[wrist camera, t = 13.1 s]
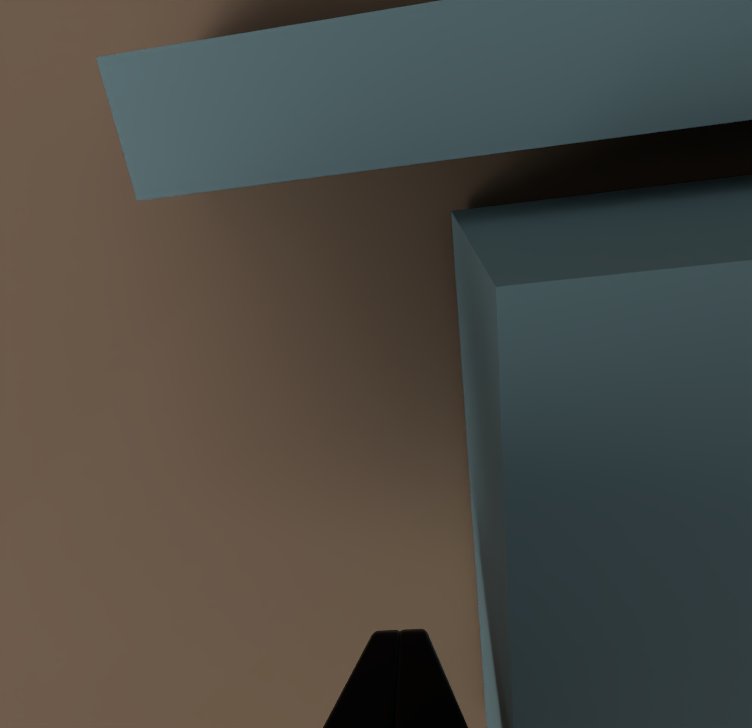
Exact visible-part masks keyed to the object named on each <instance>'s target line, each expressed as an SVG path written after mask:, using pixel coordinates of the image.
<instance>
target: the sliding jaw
mask: <svg viewBox="0 0 752 728" xmlns="http://www.w3.org/2000/svg"><path fill="white" fill-rule="evenodd" d="M451 218H452V233H453V247H454V262H455V276H456V290H457V305H458V319H459V334H460V348H461V363H462V377H463V392H464V406H465V421H466V435H467V450H468V464H469V479H470V493H471V508H472V522H473V537H474V551H475V565H476V580H477V594H478V609H479V623H480V638H481V652H482V667H483V681H484V696H485V710H486V723H487V728H752V175H744V176H735V177H727V178H719V179H711V180H702V181H694V182H686V183H678V184H670V185H661V186H653V187H645V188H637V189H628V190H620V191H612V192H604V193H595V194H587V195H579V196H571V197H563V198H554V199H546V200H538V201H530V202H521V203H513V204H505V205H497V206H488V207H480V208H472V209H464V210H456V211H451Z"/></svg>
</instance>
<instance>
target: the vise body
mask: <svg viewBox="0 0 752 728" xmlns="http://www.w3.org/2000/svg"><path fill="white" fill-rule="evenodd" d="M96 59H97V62H98V66H99V69H100V73H101V76H102V80H103V83H104V87H105V90H106V94H107V97H108V101H109V104H110V108H111V111H112V115H113V118H114V122H115V125H116V129H117V132H118V136H119V139H120V143H121V146H122V150H123V153H124V157H125V160H126V164H127V167H128V171H129V174H130V178H131V181H132V185H133V188H134V192H135V195H136V199H137V201H140V200H148V199H155V198H163V197H170V196H178V195H185V194H193V193H201V192H208V191H216V190H223V189H231V188H238V187H246V186H254V185H261V184H269V183H276V182H284V181H291V180H299V179H307V178H314V177H322V176H329V175H337V174H344V173H352V172H359V171H367V170H375V169H382V168H390V167H397V166H405V165H412V164H420V163H428V162H435V161H443V160H450V159H458V158H465V157H473V156H481V155H488V154H496V153H503V152H511V151H518V150H526V149H534V148H541V147H549V146H556V145H564V144H571V143H579V142H586V141H594V140H602V139H609V138H617V137H624V136H632V135H639V134H647V133H655V132H662V131H670V130H677V129H685V128H692V127H700V126H708V125H715V124H723V123H730V122H738V121H745V120H752V0H440V1H434V2H428V3H422V4H416V5H410V6H404V7H397V8H391V9H385V10H379V11H373V12H367V13H361V14H355V15H349V16H343V17H337V18H331V19H325V20H319V21H313V22H307V23H301V24H295V25H289V26H283V27H277V28H271V29H264V30H258V31H252V32H246V33H240V34H234V35H228V36H222V37H216V38H210V39H204V40H198V41H192V42H186V43H180V44H174V45H168V46H162V47H156V48H150V49H144V50H138V51H131V52H125V53H119V54H113V55H107V56H101V57H96Z"/></svg>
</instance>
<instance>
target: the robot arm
mask: <svg viewBox="0 0 752 728" xmlns="http://www.w3.org/2000/svg"><path fill="white" fill-rule="evenodd" d="M323 728H468V727H467V724H466V722H465V720H464V717H463V715H462V713H461V710H460V708H459V705H458V703H457V701H456V698H455V696H454V694H453V691H452V689H451V687H450V684H449V682H448V680H447V677H446V675H445V673H444V670H443V668H442V666H441V663H440V661H439V659H438V656H437V654H436V652H435V649H434V647H433V645H432V642H431V640H430V638H429V635H428V633H427V632H426V631H425V630H424V629H408V630H402V631H398V630H385V631H376V632H375V633H373V635H372V636H371V638H370V640H369V641H368V643H367V645H366V647H365V649H364V651H363V653H362V655H361V657H360V659H359V660H358V662H357V664H356V666H355V668H354V670H353V672H352V674H351V676H350V678H349V679H348V681H347V683H346V685H345V687H344V689H343V691H342V693H341V695H340V697H339V698H338V700H337V702H336V704H335V706H334V708H333V710H332V712H331V714H330V715H329V717H328V719H327V721H326V723H325V725H324V727H323Z"/></svg>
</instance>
